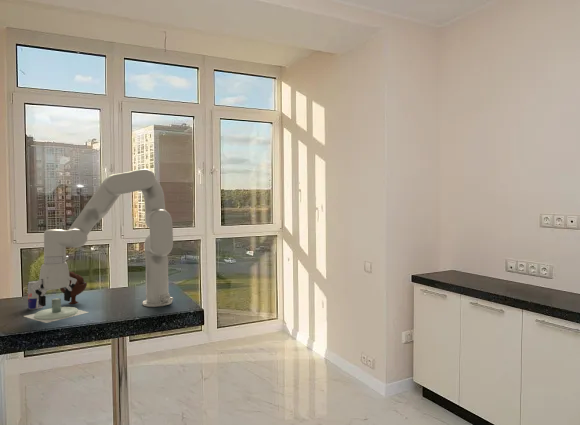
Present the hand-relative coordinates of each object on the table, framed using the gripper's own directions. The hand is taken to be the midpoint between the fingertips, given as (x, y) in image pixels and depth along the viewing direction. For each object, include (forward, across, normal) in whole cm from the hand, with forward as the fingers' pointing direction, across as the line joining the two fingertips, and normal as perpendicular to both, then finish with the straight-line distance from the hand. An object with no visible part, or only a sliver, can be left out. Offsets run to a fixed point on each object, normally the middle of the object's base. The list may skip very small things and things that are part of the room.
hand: (55, 303), depth 166 cm
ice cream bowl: (+6, -14, -12) cm, 19 cm away
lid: (+4, 0, 0) cm, 5 cm away
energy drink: (+6, -2, -18) cm, 19 cm away
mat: (+6, 0, 0) cm, 6 cm away
